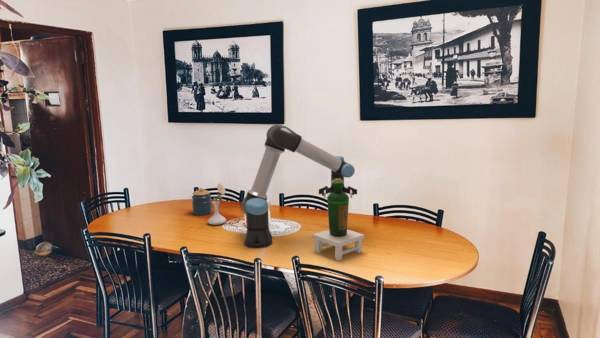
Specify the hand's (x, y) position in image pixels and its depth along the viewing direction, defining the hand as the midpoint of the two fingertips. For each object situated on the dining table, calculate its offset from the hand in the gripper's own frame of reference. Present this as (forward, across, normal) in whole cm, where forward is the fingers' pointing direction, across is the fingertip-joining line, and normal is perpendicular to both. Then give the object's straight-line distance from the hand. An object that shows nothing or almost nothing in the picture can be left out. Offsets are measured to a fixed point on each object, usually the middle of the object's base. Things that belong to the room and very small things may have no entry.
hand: (338, 195), depth 217 cm
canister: (-60, +91, -27) cm, 113 cm away
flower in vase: (-38, +74, -27) cm, 88 cm away
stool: (+10, 0, -27) cm, 28 cm away
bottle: (+10, 0, -18) cm, 20 cm away
